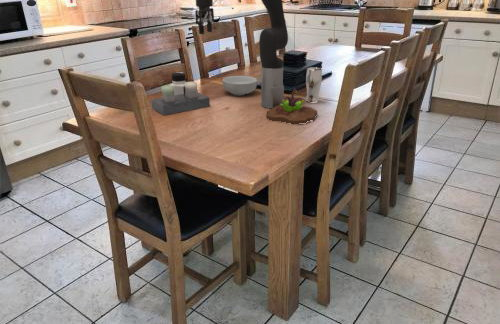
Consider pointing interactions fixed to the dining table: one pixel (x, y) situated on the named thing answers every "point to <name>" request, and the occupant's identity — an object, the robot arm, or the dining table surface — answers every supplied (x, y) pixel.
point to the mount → (180, 104)
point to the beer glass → (313, 83)
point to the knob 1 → (168, 93)
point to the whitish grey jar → (191, 90)
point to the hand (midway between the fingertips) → (205, 32)
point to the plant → (291, 111)
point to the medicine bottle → (178, 83)
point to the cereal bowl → (239, 84)
